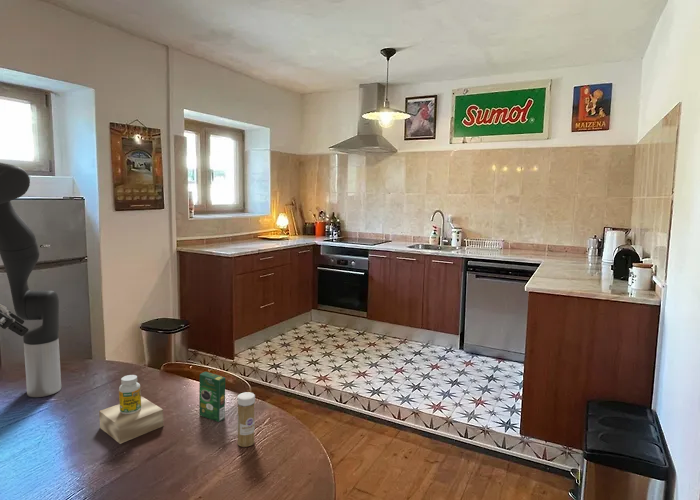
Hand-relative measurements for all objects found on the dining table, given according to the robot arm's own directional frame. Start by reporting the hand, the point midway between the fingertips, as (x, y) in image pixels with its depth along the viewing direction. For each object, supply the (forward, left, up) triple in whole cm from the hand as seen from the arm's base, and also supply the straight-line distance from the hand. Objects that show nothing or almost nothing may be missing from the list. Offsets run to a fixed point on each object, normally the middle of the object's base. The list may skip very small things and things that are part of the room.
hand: (23, 328), depth 113 cm
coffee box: (+24, +39, -31) cm, 55 cm away
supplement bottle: (+12, +20, -26) cm, 35 cm away
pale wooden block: (+12, +21, -31) cm, 39 cm away
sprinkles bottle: (+42, +37, -31) cm, 64 cm away
